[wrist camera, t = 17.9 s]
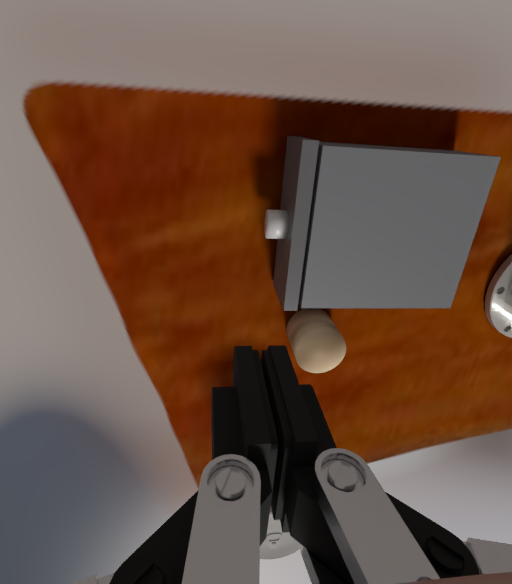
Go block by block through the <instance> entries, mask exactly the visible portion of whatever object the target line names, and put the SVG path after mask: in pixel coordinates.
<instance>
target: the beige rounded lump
mask: <svg viewBox="0 0 512 584" xmlns="http://www.w3.org/2000/svg"><path fill="white" fill-rule="evenodd" d="M286 331H287V336H288V339H289V341H290V344H291V347H292V350H293V352H294V355H295V358H296V360H297V363H298V364H299V366H300V367H301V368H302V369H304V370H305V371H308V372H311V373H322V372H326V371H329V370H331V369H333V368H334V367H336V366H337V365H338V364H339V363H340V362H341V361H342V360H343V358H344V356H345V353H346V343H345V341H344V339H343V337H342V336H341V334H340V332H339V331H338V329H337V328H336V326H335V324H334V323H333V321H332V319H331V318H330V316H329V315H328V314H327V313H326V312H325V311H324V310H322V309H319V308H305V309H302V310H300V311H298V312H297V313H295V314H294V315H293V316H292V317H291V318H290V320H289V322H288V324H287V329H286Z"/></svg>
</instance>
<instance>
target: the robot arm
mask: <svg viewBox="0 0 512 584" xmlns="http://www.w3.org/2000/svg"><path fill="white" fill-rule="evenodd" d="M485 312H486V315H487V318H488V321H489V322H490V323H491V325H492V326H493V327H494V328H495V329H497V330H498V331H499V332H500V333H502V334H504V335H505V336H507V337H511V338H512V254H511V255H510V256H509V257H508V258H507V259H506V260H505V261H504V262H503V263H502V265H501V266H500V267H499V269H498V270H497V272H496V273H495V274H494V276H493V278H492V280H491V282H490V284H489V287H488V290H487V293H486V298H485ZM270 507H271V509H272V515H273V519H274V520H280V522H281V528H282V533H285V532H290V536H291V537H292V538H294V539H295V540H296V541H298V542H299V543H300V550H301V554H302V557H303V560H304V563H305V566H306V569H307V571H308V574H309V577H310V580H311V582H312V584H512V545H511V544H505V543H498V542H492V541H485V540H479V539H473V538H468V540H467V541H466V542H463V541H461V540H460V539H459V538H458V537H456V536H455V535H453V534H452V533H451V532H449V531H448V530H446V529H445V528H443V527H441V526H440V525H438V524H436V523H435V522H433V521H432V520H430V519H428V518H427V517H425V516H423V515H422V514H420V513H419V512H417V511H415V510H414V509H412V508H410V507H409V506H407V505H406V504H404V503H402V502H401V501H399V500H398V499H396V498H394V497H393V496H391V495H389V494H388V493H386V492H385V491H384V490H383V488H382V486H381V485H380V483H379V482H378V480H377V479H376V477H375V475H374V474H373V472H372V471H371V470H370V468H369V466H368V465H367V464H366V462H365V461H364V460H363V459H362V458H361V457H359V456H358V455H357V454H355V453H353V452H351V451H348V450H345V449H340V448H336V445H335V443H334V440H333V438H332V435H331V433H330V430H329V428H328V425H327V422H326V420H325V417H324V415H323V412H322V410H321V407H320V405H319V402H318V400H317V397H316V395H315V392H314V390H313V388H312V386H311V385H310V384H307V385H299V383H298V380H297V377H296V374H295V371H294V368H293V366H292V363H291V360H290V357H289V354H288V351H287V348H286V346H268V350H263V351H262V356H261V361H260V357H259V353H258V350H252V346H235V348H234V367H233V387H212V461H211V462H209V463H208V465H207V466H206V467H205V468H204V470H203V473H202V476H201V480H200V485H199V490H198V491H197V492H196V493H195V494H194V495H193V496H192V497H191V498H190V499H189V500H188V501H187V502H186V503H185V504H184V505H183V506H182V507H181V508H180V509H179V510H178V511H177V512H175V513H174V514H173V515H172V516H171V517H170V518H169V519H168V520H167V521H166V522H165V523H164V524H163V525H162V526H161V527H160V528H159V529H158V530H157V531H156V532H155V533H154V534H153V535H152V536H151V537H149V539H147V540H146V541H145V542H144V543H143V544H142V545H141V546H140V547H139V548H138V549H137V550H136V551H135V552H134V553H133V554H132V555H131V556H130V557H129V558H128V559H127V560H126V561H125V562H124V563H123V564H122V565H121V566H120V567H119V568H118V570H117V571H116V572H115V573H113V574H111V575H107V576H104V577H102V578H99V579H98V578H97V575H93V576H90V577H87V578H84V579H82V580H79V581H76V582H73V583H70V584H259V561H260V546H261V544H262V543H263V542H264V540H265V539H266V536H267V529H268V521H269V514H270Z"/></svg>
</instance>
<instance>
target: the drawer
mask: <svg viewBox="0 0 512 584" xmlns="http://www.w3.org/2000/svg"><path fill="white" fill-rule="evenodd" d="M318 147H319V141H318V140H314V139H309V138H305V137H298V136H287V144H286V154H285V165H284V175H283V186H282V197H281V207H280V210H269V209H267V210H266V214H265V223H264V231H265V238H266V239H277V249H276V260H275V271H274V281H273V285H274V288H275V290H276V293H277V295H278V298H279V300H280V303H281V305H282V308H283V310H284V311H297V309H298V301H299V293H300V286H301V282H302V277H303V270H304V262H305V254H306V247H307V239H308V232H309V224H310V216H311V209H312V201H313V194H314V186H315V178H316V171H317V163H318V157H317V155H318Z"/></svg>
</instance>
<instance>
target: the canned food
mask: <svg viewBox="0 0 512 584" xmlns="http://www.w3.org/2000/svg"><path fill="white" fill-rule="evenodd" d="M298 549H300V543H299V542H298V541H296V540H295V539H294V538H292V537H291V536H290V532H285V533H282V528H281V522H280V520H274V519H273V515H272V509H271V507H270V514H269V521H268V529H267V536H266V539H265V540H264V542H263V543H262V544H261V546H260V559H276V558H280V557H284V556H287V555H290V554H292V553H294V552H296V551H297V550H298Z"/></svg>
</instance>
